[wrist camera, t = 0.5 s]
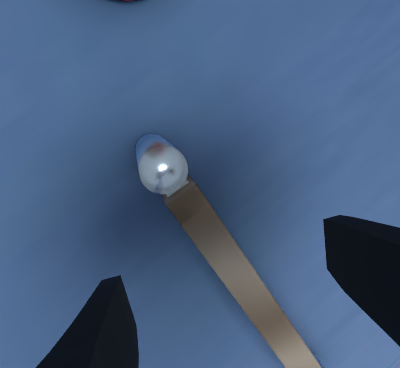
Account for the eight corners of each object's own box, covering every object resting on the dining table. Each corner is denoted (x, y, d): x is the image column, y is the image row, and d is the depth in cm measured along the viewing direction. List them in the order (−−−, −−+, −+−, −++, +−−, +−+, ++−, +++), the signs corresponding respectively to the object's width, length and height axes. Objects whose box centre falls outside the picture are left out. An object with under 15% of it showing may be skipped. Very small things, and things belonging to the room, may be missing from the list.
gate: (305, 348, 25) (356, 419, 19) (288, 361, 25) (335, 435, 19) (176, 162, 20) (195, 183, 14) (154, 177, 20) (165, 204, 14)
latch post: (148, 172, 20) (157, 203, 13) (128, 145, 19) (128, 164, 13) (174, 154, 20) (197, 176, 13) (156, 126, 20) (170, 135, 13)
